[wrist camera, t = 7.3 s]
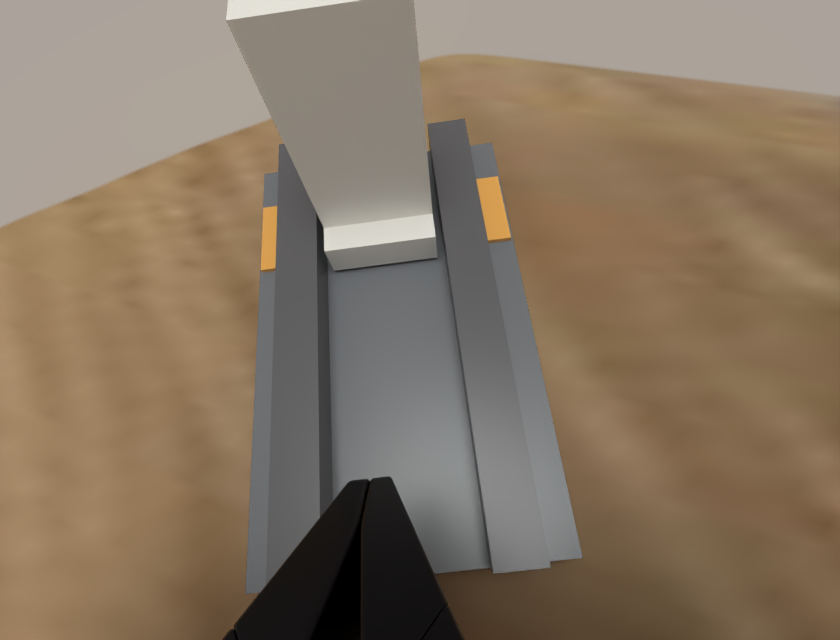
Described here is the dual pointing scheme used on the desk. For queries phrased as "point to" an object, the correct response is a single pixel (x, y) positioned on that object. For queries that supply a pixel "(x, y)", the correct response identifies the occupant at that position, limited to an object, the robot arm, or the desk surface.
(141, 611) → the desk surface
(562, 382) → the desk surface
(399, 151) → the switch tab
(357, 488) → the robot arm
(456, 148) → the switch base
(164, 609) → the desk surface
